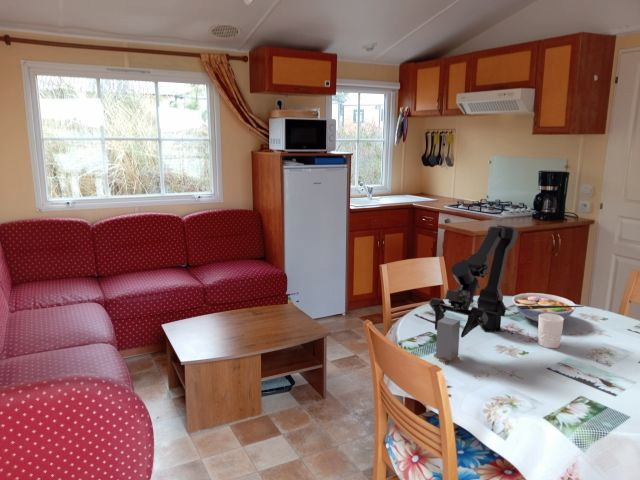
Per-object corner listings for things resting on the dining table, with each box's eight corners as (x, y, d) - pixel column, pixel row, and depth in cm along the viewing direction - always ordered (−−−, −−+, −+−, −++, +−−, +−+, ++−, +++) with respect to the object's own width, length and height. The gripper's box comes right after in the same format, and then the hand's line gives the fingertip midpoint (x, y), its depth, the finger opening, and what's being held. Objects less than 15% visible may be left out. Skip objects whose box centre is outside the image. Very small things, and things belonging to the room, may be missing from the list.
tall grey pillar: (443, 351, 167) (445, 316, 165) (458, 355, 164) (460, 320, 162) (435, 356, 164) (437, 321, 161) (450, 360, 160) (452, 325, 158)
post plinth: (449, 353, 168) (450, 338, 167) (460, 361, 162) (461, 345, 161) (433, 356, 166) (434, 340, 165) (444, 363, 160) (444, 347, 159)
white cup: (561, 342, 176) (563, 315, 174) (561, 350, 169) (564, 322, 167) (536, 338, 180) (539, 311, 177) (535, 346, 173) (538, 319, 170)
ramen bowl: (558, 309, 209) (560, 290, 207) (589, 330, 186) (592, 309, 185) (499, 310, 208) (500, 291, 206) (522, 332, 185) (524, 310, 184)
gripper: (432, 274, 169) (414, 314, 163) (486, 285, 157) (468, 329, 151) (443, 291, 176) (426, 330, 171) (495, 302, 164) (478, 345, 158)
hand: (448, 333), depth 162 cm, fingers open, 9 cm apart
